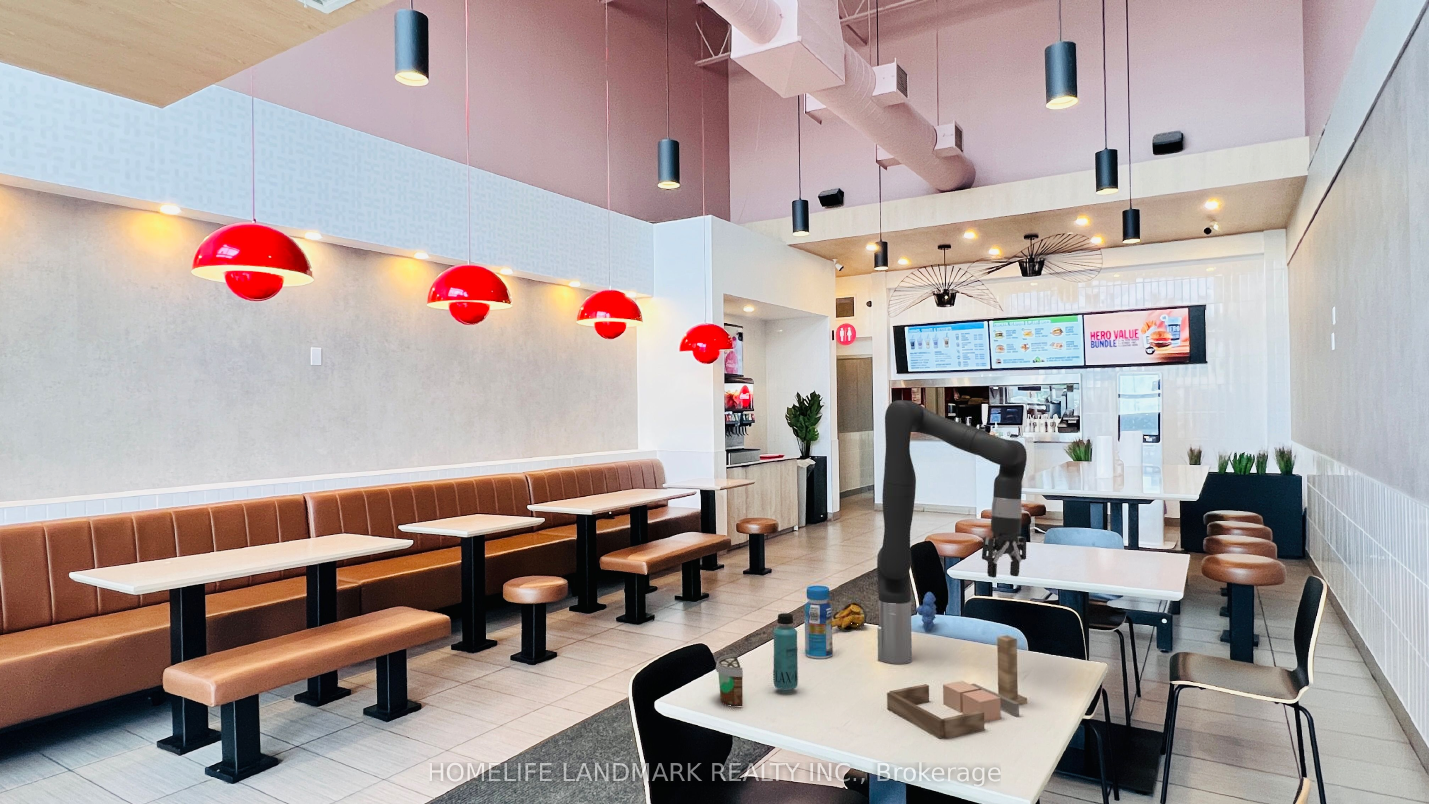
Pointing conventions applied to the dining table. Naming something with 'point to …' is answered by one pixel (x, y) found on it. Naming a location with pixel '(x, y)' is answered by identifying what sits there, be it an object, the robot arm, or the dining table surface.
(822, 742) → the dining table surface
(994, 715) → the salmon pink block
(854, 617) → the fried shrimp in bowl
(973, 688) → the tile
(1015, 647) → the wooden post on base
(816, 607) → the beverage bottle
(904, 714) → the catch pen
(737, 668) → the food container
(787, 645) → the beverage bottle
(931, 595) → the grapes
